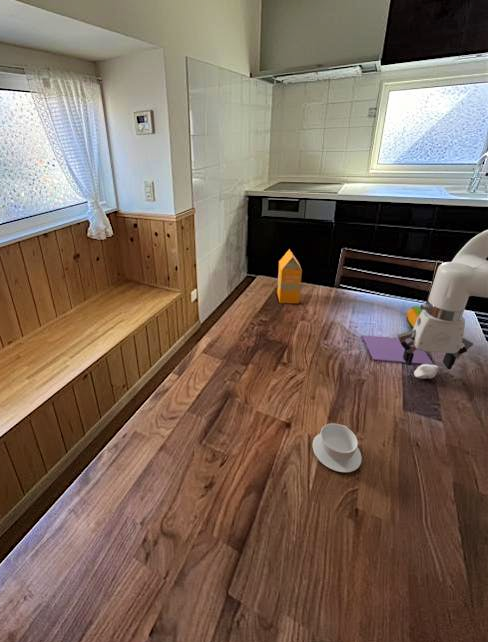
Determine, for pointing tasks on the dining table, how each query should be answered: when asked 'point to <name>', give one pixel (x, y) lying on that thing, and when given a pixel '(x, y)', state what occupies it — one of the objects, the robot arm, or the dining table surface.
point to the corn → (413, 315)
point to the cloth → (393, 350)
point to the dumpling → (426, 371)
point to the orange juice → (289, 279)
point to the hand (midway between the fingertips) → (426, 364)
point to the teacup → (337, 448)
